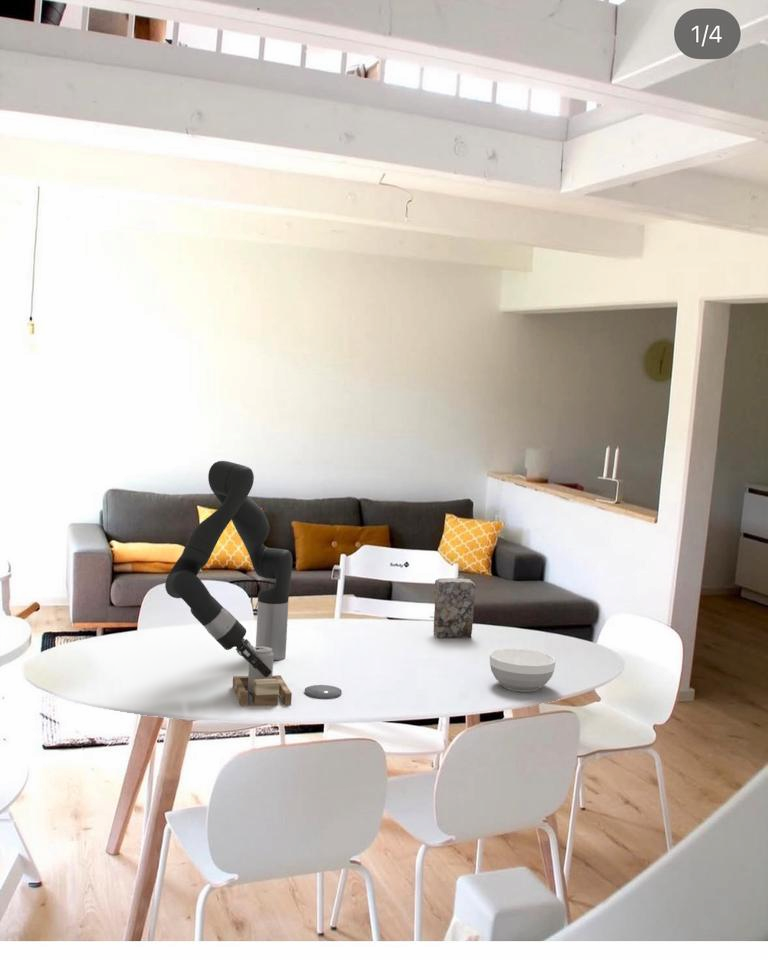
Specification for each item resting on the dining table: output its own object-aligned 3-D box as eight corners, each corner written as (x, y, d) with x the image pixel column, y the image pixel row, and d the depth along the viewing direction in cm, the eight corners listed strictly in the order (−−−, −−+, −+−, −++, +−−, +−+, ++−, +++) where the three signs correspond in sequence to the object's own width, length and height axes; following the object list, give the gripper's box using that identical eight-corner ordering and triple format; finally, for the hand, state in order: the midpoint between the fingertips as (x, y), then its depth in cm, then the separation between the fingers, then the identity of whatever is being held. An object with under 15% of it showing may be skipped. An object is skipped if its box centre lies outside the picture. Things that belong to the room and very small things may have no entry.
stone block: (438, 639, 346) (441, 581, 345) (430, 634, 353) (434, 577, 351) (473, 638, 351) (477, 581, 349) (465, 634, 357) (469, 577, 356)
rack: (232, 687, 277) (233, 676, 277) (279, 686, 281) (280, 675, 281) (241, 706, 261) (241, 694, 261) (291, 704, 265) (291, 693, 265)
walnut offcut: (252, 702, 266) (252, 690, 266) (275, 701, 268) (275, 690, 267) (254, 706, 262) (255, 695, 262) (277, 706, 264) (278, 694, 263)
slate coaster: (301, 688, 280) (301, 685, 280) (336, 687, 283) (336, 684, 283) (308, 699, 270) (308, 696, 270) (345, 698, 273) (345, 695, 273)
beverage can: (259, 687, 278) (262, 644, 277) (276, 692, 274) (278, 649, 273) (242, 692, 273) (244, 648, 272) (259, 697, 269) (261, 652, 268)
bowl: (517, 674, 308) (519, 645, 307) (567, 690, 294) (569, 660, 293) (474, 683, 295) (476, 653, 294) (524, 700, 281) (526, 669, 280)
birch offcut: (252, 690, 266) (253, 679, 265) (275, 689, 268) (275, 678, 267) (256, 695, 262) (256, 683, 262) (278, 694, 264) (279, 682, 264)
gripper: (238, 624, 263) (281, 668, 267) (231, 612, 277) (272, 654, 281) (217, 644, 262) (260, 688, 266) (211, 631, 276) (252, 673, 280)
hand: (266, 670), depth 274 cm, fingers closed on beverage can, 6 cm apart
